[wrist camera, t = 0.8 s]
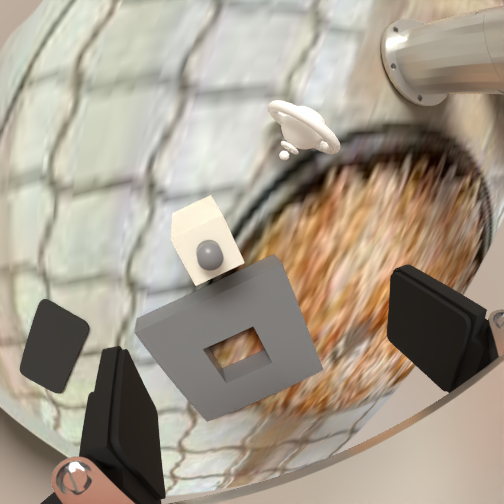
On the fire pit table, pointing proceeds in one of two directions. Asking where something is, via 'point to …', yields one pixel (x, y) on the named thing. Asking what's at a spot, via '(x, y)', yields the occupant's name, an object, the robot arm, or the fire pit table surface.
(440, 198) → the fire pit table surface
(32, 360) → the phone
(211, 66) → the fire pit table surface
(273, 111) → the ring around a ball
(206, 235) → the plug
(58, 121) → the fire pit table surface
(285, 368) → the socket plate
